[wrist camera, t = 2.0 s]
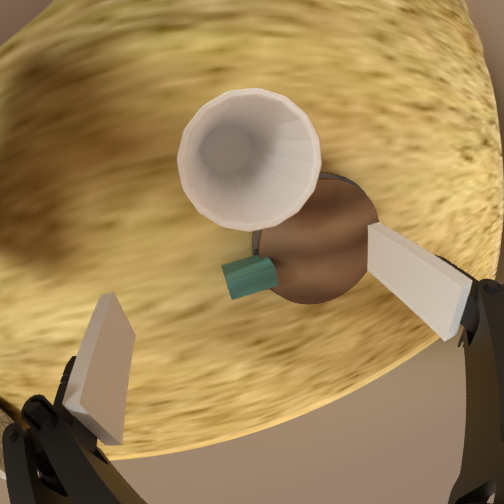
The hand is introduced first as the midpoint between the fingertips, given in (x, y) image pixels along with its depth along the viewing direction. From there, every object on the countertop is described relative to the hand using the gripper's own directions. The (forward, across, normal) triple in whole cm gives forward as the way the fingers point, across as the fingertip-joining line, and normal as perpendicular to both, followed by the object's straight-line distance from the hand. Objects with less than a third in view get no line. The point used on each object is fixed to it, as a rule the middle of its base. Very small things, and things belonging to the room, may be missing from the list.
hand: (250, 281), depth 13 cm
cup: (+20, +2, +5) cm, 21 cm away
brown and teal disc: (+19, +10, -9) cm, 23 cm away
